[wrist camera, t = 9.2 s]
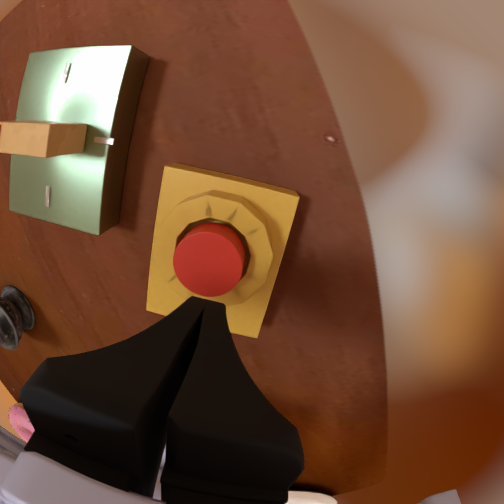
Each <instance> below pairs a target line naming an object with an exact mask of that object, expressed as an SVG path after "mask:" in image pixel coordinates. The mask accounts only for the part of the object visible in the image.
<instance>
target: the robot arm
mask: <svg viewBox="0 0 504 504" xmlns="http://www.w3.org/2000/svg"><path fill="white" fill-rule="evenodd" d="M20 398H21V401H22V404H23V407H24V409H25V411H26V414H27V416H28V418H29V420H30V422H31V424H32V426H33V428H34V430H35V431H34V432H33V434H32V436H31V437H30V439H29V441H28V442H27V443H26V442H24V441H23V440H21V439H19V438H18V437H16V436H15V435H13V434H11V433H10V432H8V431H7V430H6V429H4V428H3V427H1V426H0V504H285V503H287V502H288V489H289V487H290V486H291V485H292V484H293V483H294V482H295V481H296V480H297V478H298V477H299V476H300V475H301V474H302V472H303V470H304V454H303V449H302V445H301V441H300V437H299V434H298V431H297V428H296V427H295V426H294V425H292V424H291V423H290V422H289V421H288V420H287V419H286V418H285V417H283V416H282V415H281V414H280V413H279V412H278V411H277V410H276V409H275V408H274V407H273V406H272V405H271V404H270V403H269V402H268V400H267V399H266V398H265V397H264V395H263V394H262V393H261V391H260V390H259V389H258V387H257V386H256V385H255V383H254V382H253V380H252V379H251V377H250V376H249V374H248V372H247V371H246V369H245V367H244V365H243V363H242V361H241V359H240V357H239V355H238V352H237V350H236V348H235V345H234V342H233V340H232V336H231V333H230V330H229V326H228V321H227V315H226V306H225V304H224V303H220V302H216V301H212V300H208V299H203V298H199V297H195V296H191V297H189V298H188V299H187V300H186V301H185V302H183V303H182V304H181V305H180V306H179V307H177V308H176V309H175V310H174V311H172V312H171V313H170V314H168V315H167V316H166V317H164V318H163V319H161V320H160V321H158V322H157V323H155V324H154V325H152V326H150V327H149V328H147V329H146V330H144V331H142V332H140V333H138V334H137V335H135V336H132V337H130V338H128V339H126V340H124V341H121V342H118V343H115V344H113V345H110V346H107V347H104V348H101V349H97V350H94V351H89V352H85V353H81V354H75V355H68V356H61V357H52V358H47V359H46V360H45V361H44V362H43V363H42V364H41V365H40V366H39V367H38V368H37V369H36V371H35V372H34V373H33V374H32V376H31V377H30V378H29V379H28V381H27V382H26V383H25V385H24V386H23V387H22V389H21V390H20ZM418 504H461V503H460V500H459V497H458V494H457V491H456V490H455V489H453V490H450V491H446V492H442V493H439V494H435V495H432V496H429V497H427V498H425V499H424V500H422V501H420V502H419V503H418Z"/></svg>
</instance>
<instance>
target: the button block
mask: <svg viewBox="0 0 504 504" xmlns="http://www.w3.org/2000/svg"><path fill="white" fill-rule="evenodd" d="M299 198H300V197H299V196H298V194H297V192H296V191H294V190H290V189H286V188H282V187H278V186H275V185H271V184H267V183H263V182H259V181H255V180H250V179H246V178H242V177H238V176H234V175H229V174H225V173H220V172H216V171H211V170H207V169H202V168H197V167H192V166H188V165H183V164H178V163H174V164H171V165H167V166H165V167H164V173H163V178H162V184H161V190H160V196H159V202H158V209H157V215H156V222H155V230H154V237H153V245H152V254H151V263H150V272H149V283H148V294H147V307H146V310H147V311H151V312H154V313H158V314H161V315H165V316H167V315H168V314H170V313H171V312H172V311H174V310H175V309H176V308H177V307H179V306H180V305H181V304H182V303H183V302H185V301H186V300H187V299H188V298H189V297H191V296H195V297H199V298H203V299H208V300H212V301H216V302H220V303H224V304H225V306H226V315H227V321H228V326H229V330H230V332H231V333H236V334H240V335H244V336H249V337H253V338H257V337H258V334H259V331H260V328H261V325H262V322H263V319H264V316H265V312H266V309H267V306H268V303H269V300H270V296H271V293H272V290H273V287H274V283H275V280H276V277H277V274H278V270H279V267H280V264H281V260H282V257H283V254H284V250H285V247H286V243H287V240H288V237H289V233H290V230H291V226H292V223H293V220H294V216H295V213H296V209H297V206H298V202H299ZM203 223H219V224H222V225H225V226H227V227H229V228H230V229H232V230H233V231H234V232H235V233H236V234H237V235H238V236H239V238H240V239H241V241H242V243H243V246H244V250H245V260H244V265H243V271H242V275H241V278H240V280H239V282H238V283H237V285H236V286H235V287H234V288H233V289H232V290H231V291H229V292H228V293H226V294H223V295H220V296H216V297H205V296H200V295H197V294H195V293H193V292H191V291H189V290H188V289H187V288H185V287H184V286H183V285H182V284H181V282H180V281H179V279H178V278H177V276H176V274H175V271H174V267H173V256H174V252H175V250H176V248H177V246H178V244H179V243H180V242H181V240H182V239H183V238H184V237H185V236H186V234H187V233H188V232H189V231H190V230H191V229H192V228H194V227H196V226H197V225H200V224H203Z"/></svg>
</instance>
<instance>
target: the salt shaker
mask: <svg viewBox="0 0 504 504" xmlns="http://www.w3.org/2000/svg"><path fill="white" fill-rule="evenodd" d="M34 324H35V316H34V312H33V309H32V307H31V305H30V303H29V302H28V300H27V298H26V297H25V296H24V295H23V293H22V292H20V291H19V290H18V289H17V288H15V287H13V286H6V287H5V288H3V290H2V295H1V297H0V346H3V347H4V348H6V349H8V350H15V349H16V348H17V347H18V344H19V340H20V339H21V336H22V333H23V329H24V330H30V329H32V328H33V326H34Z"/></svg>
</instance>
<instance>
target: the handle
mask: <svg viewBox="0 0 504 504" xmlns="http://www.w3.org/2000/svg"><path fill="white" fill-rule="evenodd" d="M86 131H87V124H86V123H73V122H59V121H38V120H20V121H1V122H0V153H8V154H17V155H25V156H33V157H40V158H50V157H56V156H62V155H68V154H75V153H82V152H83V150H84V143H85V137H86Z"/></svg>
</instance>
